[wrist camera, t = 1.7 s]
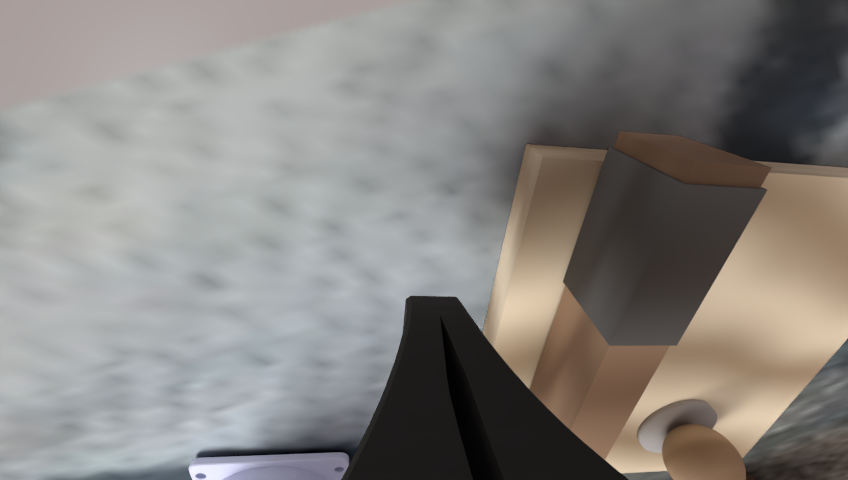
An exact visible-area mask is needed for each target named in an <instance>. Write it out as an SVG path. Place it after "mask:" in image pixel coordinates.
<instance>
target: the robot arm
mask: <svg viewBox="0 0 848 480" xmlns="http://www.w3.org/2000/svg"><path fill="white" fill-rule="evenodd" d="M189 472H190V475H191V477H192V480H628V479H627V478H626V477H625V476H623V475H622V474H621V473H620V472H618V471H617V470H616V469H615V468H614V467H613V466H611V465H610V464H609V463H608V462H607V461H605V460H604V459H603V458H602V457H601V456H600V455H598V454H597V453H596V452H595V451H594V450H592V449H591V448H590V447H589V446H588V445H587V444H585V443H584V442H583V441H582V440H581V439H580V438H578V437H577V436H576V435H575V434H574V433H573V432H572V431H571V430H570V429H569V428H567V427H566V426H565V425H564V424H563V423H562V422H561V421H560V420H559V419H558V418H557V417H556V416H555V415H554V414H553V413H552V412H551V411H550V410H549V409H548V408H547V407H546V406H545V405H544V404H543V403H542V402H541V401H540V400H539V399H538V398H537V397H536V396H535V395H534V394H533V393H532V392H531V391H530V389H529V388H528V387H527V386H526V385H525V384H524V383H523V382H522V381H521V379H520V378H519V377H518V376H517V375H516V374H515V373H514V372H513V370H512V369H511V368H510V367H509V366H508V364H507V363H506V362H505V361H504V360H503V358H502V357H501V356H500V355H499V353H498V352H497V351H496V350H495V348H494V347H493V346H492V345H491V343H490V342H489V341H488V340H487V338H486V337H485V336H484V334H483V333H482V332H481V330H480V329H479V328H478V326H477V325H476V323H475V322H474V321H473V319H472V318H471V316H470V315H469V314H468V312H467V311H466V309H465V308H464V306H463V305H462V303H461V302H460V301H459V299H458V298H457V297H435V296H410V297H409V298H407V299H406V305H405V316H404V327H403V335H402V339H401V342H400V346H399V350H398V353H397V356H396V360H395V362H394V365H393V368H392V371H391V374H390V376H389V379H388V382H387V385H386V387H385V390H384V392H383V395H382V397H381V399H380V402H379V404H378V406H377V409H376V411H375V413H374V415H373V418H372V420H371V422H370V424H369V426H368V428H367V430H366V432H365V434H364V436H363V438H362V440H361V443H360V445H359V447H358V449H357V451H356V453H355V455H354V457H353V458H352V460H351V462H350V464H349V456H348V455H347V454H346V453H343V452H332V453H306V454H280V455H255V456H229V457H203V458H196V459H194V460H193V461H192V462H191V464H190V466H189Z"/></svg>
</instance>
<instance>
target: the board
mask: <svg viewBox="0 0 848 480" xmlns="http://www.w3.org/2000/svg"><path fill="white" fill-rule="evenodd" d="M606 153H607V150H600V149H586V148H573V147H559V146H546V145H532V144H526V146H525V151H524V155H523V160H522V164H521V168H520V173H519V177H518V181H517V186H516V190H515V194H514V199H513V203H512V207H511V212H510V216H509V220H508V225H507V229H506V233H505V238H504V242H503V246H502V251H501V255H500V260H499V264H498V268H497V273H496V277H495V281H494V286H493V290H492V294H491V299H490V303H489V307H488V312H487V316H486V320H485V325H484V329H483V334H484V336H485V337H486V338H487V340H488V341H489V342H490V343H491V345H492V346H493V347H494V348H495V350H496V351H497V352H498V353H499V355H500V356H501V357H502V358H503V360H504V361H505V362H506V363H507V364H508V366H509V367H510V368H511V369H512V370H513V372H514V373H515V374H516V375H517V376H518V377H519V378H520V379H521V381H522V382H523V383H524V384H525V385H526V386H527V387H528V388H529V389H530V387H531V384H532V381H533V379H534V376H535V373H536V370H537V367H538V364H539V361H540V358H541V356H542V353H543V350H544V347H545V344H546V341H547V338H548V335H549V332H550V330H551V327H552V324H553V321H554V318H555V315H556V312H557V309H558V306H559V304H560V301H561V298H562V295H563V292H564V289H565V286H566V285H565V284H564V282H563V280H564V277H565V274H566V271H567V268H568V265H569V262H570V259H571V256H572V253H573V250H574V247H575V244H576V241H577V238H578V235H579V233H580V230H581V227H582V224H583V221H584V218H585V215H586V212H587V209H588V206H589V203H590V200H591V197H592V194H593V191H594V188H595V185H596V182H597V180H598V177H599V174H600V171H601V168H602V165H603V162H604V159H605V156H606ZM755 162H757V163H760V164H763V165H766V166H769V167H772V168H771V170H770V172H769V174H768V175H767V177H766V179H765V181H764V182H763V184H762V186H761V187H762V188H765V189H767V192H766V194H765V195H764V197H763V199H762V201H761V202H760V204H759V206H758V207H757V209H756V211H755V213H754V214H753V216H752V218H751V219H750V221H749V223H748V225H747V226H746V228H745V230H744V231H743V233H742V235H741V237H740V238H739V240H738V242H737V243H736V245H735V247H734V249H733V250H732V252H731V254H730V255H729V257H728V259H727V261H726V262H725V264H724V266H723V267H722V269H721V271H720V273H719V274H718V276H717V278H716V279H715V281H714V283H713V285H712V286H711V288H710V290H709V291H708V293H707V295H706V297H705V298H704V300H703V302H702V303H701V305H700V307H699V309H698V310H697V312H696V314H695V315H694V317H693V319H692V321H691V322H690V324H689V326H688V327H687V329H686V331H685V333H684V334H683V336H682V338H681V339H680V341H679V343H678V345H677V346H670V347H669V349H668V350H667V352H666V354H665V356H664V357H663V359H662V361H661V363H660V364H659V366H658V368H657V370H656V371H655V373H654V375H653V377H652V378H651V380H650V382H649V384H648V385H647V387H646V389H645V391H644V392H643V394H642V396H641V398H640V399H639V401H638V403H637V405H636V406H635V408H634V410H633V412H632V413H631V415H630V417H629V419H628V420H627V422H626V424H625V426H624V427H623V429H622V431H621V433H620V434H619V436H618V438H617V440H616V441H615V443H614V445H613V447H612V448H611V450H610V452H609V454H608V456H607V457H606V459H605V461H607V462H608V463H609V464H610V465H611V466H613V467H614V468H615V469H616V470H617V471H618V472H620V473H635V472H655V471H668V472H669V474H670V476H671V477H672V478H673V480H746V470H745V465H744V462H743V460H742V458H743V457H744V456H745V455H746V454H747V453H748V451H749V450H750V449H751V448H752V447H753V446H754V445H755V443H756V442H757V441H758V440H759V439H760V438H761V437H762V435H763V434H764V433H765V432H766V431H767V430H768V429H769V428H770V426H771V425H772V424H773V423H774V422H775V421H776V420H777V418H778V417H779V416H780V415H781V414H782V413H783V412H784V410H785V409H786V408H787V407H788V406H789V405H790V404H791V402H792V401H793V400H794V399H795V398H796V397H797V396H798V394H799V393H800V392H801V391H802V390H803V389H804V388H805V386H806V385H807V384H808V383H809V382H810V381H811V380H812V379H813V377H814V376H815V375H816V374H817V373H818V372H819V371H820V369H821V368H822V367H823V366H824V365H825V364H826V363H827V361H828V360H829V359H830V358H831V357H832V356H833V355H834V353H835V352H836V351H837V350H838V349H839V348H840V347H841V345H842V344H843V343H844V342H845V341H846V340H847V339H848V168H844V167H830V166H816V165H803V164H789V163H776V162H762V161H755Z"/></svg>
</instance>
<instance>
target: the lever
mask: <svg viewBox="0 0 848 480" xmlns="http://www.w3.org/2000/svg"><path fill="white" fill-rule="evenodd" d="M771 168H772V167H769V166H766V165H763V164H760V163H757V162H755V161H752V160H749V159H746V158H743V157H740V156H737V155H734V154H731V153H728V152H726V151H723V150H720V149H717V148H714V147H711V146H708V145H705V144H702V143H699V142H697V141H694V140H691V139H688V138H685V137H682V136H675V135H663V134H650V133H638V132H626V131H619V133H618V136H617V139H616V142H615V145H614V147H608V150H607V153H606V156H605V159H604V162H603V165H602V168H601V171H600V174H599V177H598V180H597V182H596V185H595V188H594V191H593V194H592V197H591V200H590V203H589V206H588V209H587V212H586V215H585V218H584V221H583V224H582V227H581V230H580V233H579V235H578V238H577V241H576V244H575V247H574V250H573V253H572V256H571V259H570V262H569V265H568V268H567V271H566V274H565V277H564V280H563V282H564V284H565V285H566V286H565V289H564V292H563V295H562V298H561V301H560V304H559V306H558V309H557V312H556V315H555V318H554V321H553V324H552V327H551V330H550V332H549V335H548V338H547V341H546V344H545V347H544V350H543V353H542V356H541V358H540V361H539V364H538V367H537V370H536V373H535V376H534V379H533V381H532V384H531V387H530V391H531V392H532V393H533V394H534V395H535V396H536V397H537V398H538V399H539V400H540V401H541V402H542V403H543V404H544V405H545V406H546V407H547V408H548V409H549V410H550V411H551V412H552V413H553V414H554V415H555V416H556V417H557V418H558V419H559V420H560V421H561V422H562V423H563V424H564V425H565V426H566V427H567V428H569V429H570V430H571V431H572V432H573V433H574V434H575V435H576V436H577V437H578V438H580V439H581V440H582V441H583V442H584V443H585V444H587V445H588V446H589V447H590V448H591V449H592V450H594V451H595V452H596V453H597V454H598V455H600V456H601V457H602V458H603V459H604V460H605V459H606V457H607V456H608V454H609V452H610V450H611V448H612V447H613V445H614V443H615V441H616V440H617V438H618V436H619V434H620V433H621V431H622V429H623V427H624V426H625V424H626V422H627V420H628V419H629V417H630V415H631V413H632V412H633V410H634V408H635V406H636V405H637V403H638V401H639V399H640V398H641V396H642V394H643V392H644V391H645V389H646V387H647V385H648V384H649V382H650V380H651V378H652V377H653V375H654V373H655V371H656V370H657V368H658V366H659V364H660V363H661V361H662V359H663V357H664V356H665V354H666V352H667V350H668V349H669V347H670V346H677V345H678V343H679V341H680V339H681V338H682V336H683V334H684V333H685V331H686V329H687V327H688V326H689V324H690V322H691V321H692V319H693V317H694V315H695V314H696V312H697V310H698V309H699V307H700V305H701V303H702V302H703V300H704V298H705V297H706V295H707V293H708V291H709V290H710V288H711V286H712V285H713V283H714V281H715V279H716V278H717V276H718V274H719V273H720V271H721V269H722V267H723V266H724V264H725V262H726V261H727V259H728V257H729V255H730V254H731V252H732V250H733V249H734V247H735V245H736V243H737V242H738V240H739V238H740V237H741V235H742V233H743V231H744V230H745V228H746V226H747V225H748V223H749V221H750V219H751V218H752V216H753V214H754V213H755V211H756V209H757V207H758V206H759V204H760V202H761V201H762V199H763V197H764V195H765V194H766V192H767V189H765V188H762V187H761V186H762V184H763V182H764V181H765V179H766V177H767V175H768V174H769V172H770V170H771Z"/></svg>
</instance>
